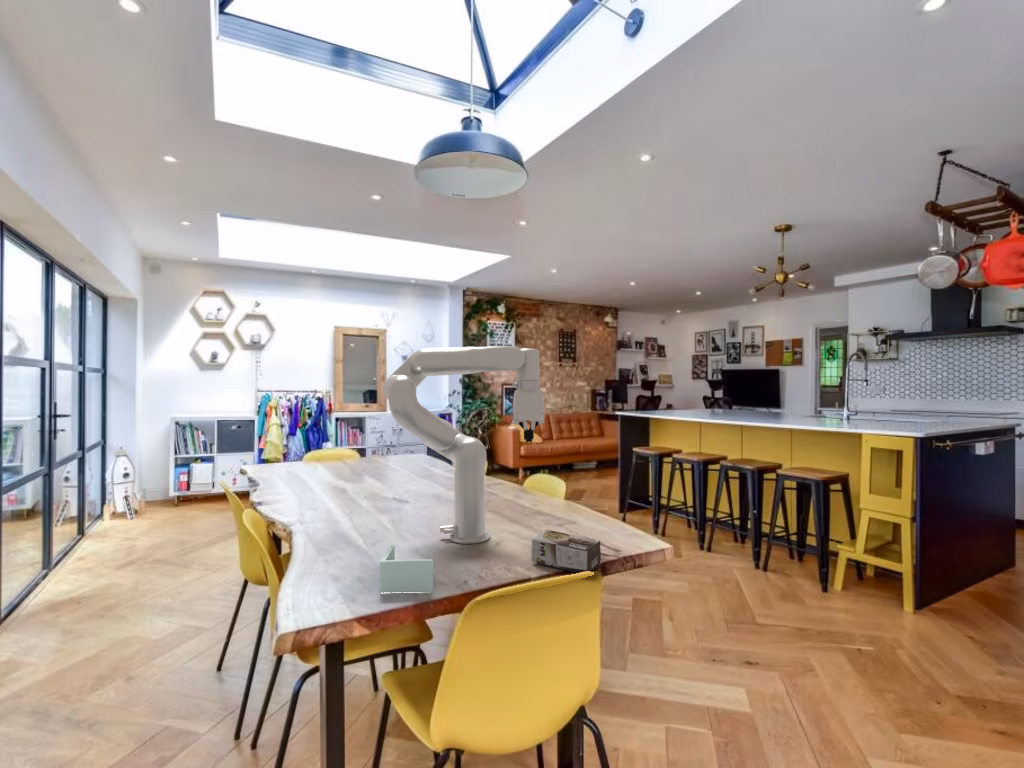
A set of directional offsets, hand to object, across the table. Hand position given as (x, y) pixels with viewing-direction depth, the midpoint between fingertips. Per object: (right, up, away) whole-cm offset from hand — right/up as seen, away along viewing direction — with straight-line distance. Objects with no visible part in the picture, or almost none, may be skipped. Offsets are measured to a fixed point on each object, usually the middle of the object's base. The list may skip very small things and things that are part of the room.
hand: (528, 441), depth 167 cm
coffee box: (+2, -25, -28) cm, 38 cm away
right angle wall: (-30, -30, -44) cm, 61 cm away
